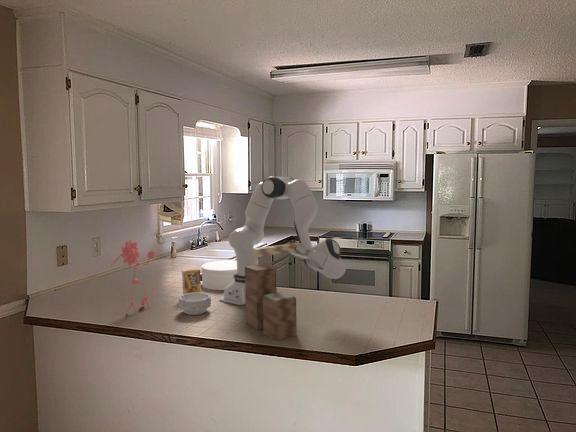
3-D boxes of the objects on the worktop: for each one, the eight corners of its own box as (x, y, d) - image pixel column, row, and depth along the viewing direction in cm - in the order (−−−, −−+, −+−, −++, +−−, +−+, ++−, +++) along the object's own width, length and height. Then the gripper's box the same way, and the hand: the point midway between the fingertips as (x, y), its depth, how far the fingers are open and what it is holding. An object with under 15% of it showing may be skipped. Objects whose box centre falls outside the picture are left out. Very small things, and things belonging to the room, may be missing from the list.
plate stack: (195, 289, 271) (194, 270, 269) (210, 277, 298) (209, 259, 297) (243, 290, 267) (243, 270, 265) (253, 278, 294) (253, 260, 293)
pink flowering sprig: (162, 303, 243) (157, 236, 239) (126, 319, 219) (121, 245, 216) (138, 301, 249) (133, 235, 245) (101, 316, 226) (95, 244, 222)
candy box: (198, 295, 257) (197, 268, 255) (201, 297, 253) (200, 269, 252) (182, 298, 253) (181, 270, 251) (185, 300, 249) (184, 271, 247)
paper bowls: (215, 313, 226) (215, 297, 225) (184, 319, 219) (184, 302, 218) (205, 305, 239) (204, 290, 239) (175, 310, 232) (174, 294, 231)
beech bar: (298, 249, 201) (298, 242, 201) (302, 250, 199) (302, 243, 199) (253, 255, 189) (253, 248, 189) (257, 257, 187) (256, 249, 186)
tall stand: (265, 319, 217) (264, 263, 214) (277, 325, 209) (276, 267, 206) (246, 323, 212) (244, 266, 209) (257, 329, 203) (256, 270, 200)
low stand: (283, 328, 205) (282, 291, 203) (296, 335, 197) (296, 296, 195) (263, 333, 199) (262, 294, 197) (276, 340, 191) (275, 300, 189)
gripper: (305, 249, 214) (282, 236, 207) (333, 256, 197) (310, 242, 190) (299, 261, 213) (276, 249, 206) (327, 270, 196) (304, 257, 189)
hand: (293, 246), depth 198 cm, fingers closed on beech bar, 3 cm apart
